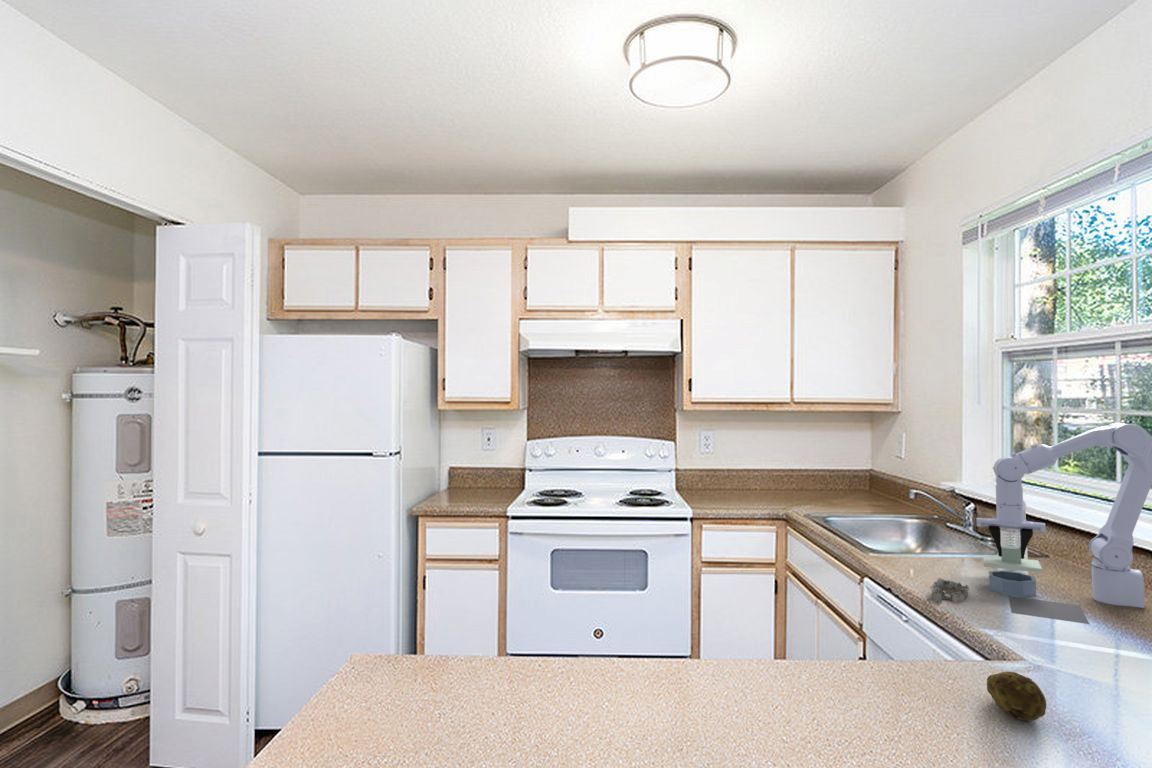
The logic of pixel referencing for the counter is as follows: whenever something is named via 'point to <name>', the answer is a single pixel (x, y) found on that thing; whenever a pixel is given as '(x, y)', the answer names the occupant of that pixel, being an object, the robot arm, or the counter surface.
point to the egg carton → (948, 590)
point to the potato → (1017, 695)
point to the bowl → (1012, 583)
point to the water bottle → (1013, 540)
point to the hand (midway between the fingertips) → (1010, 556)
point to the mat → (1047, 609)
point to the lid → (1012, 561)
